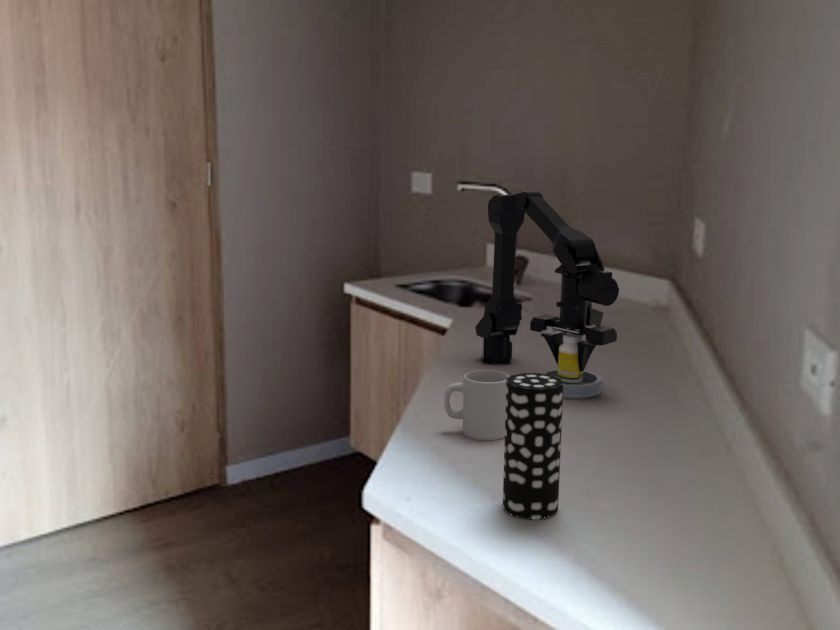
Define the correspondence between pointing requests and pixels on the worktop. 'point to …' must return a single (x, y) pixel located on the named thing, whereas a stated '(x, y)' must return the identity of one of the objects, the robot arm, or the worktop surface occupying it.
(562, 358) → the supplement bottle
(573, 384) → the round dish
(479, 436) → the mug
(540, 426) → the white-spotted black cylinder
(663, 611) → the worktop surface
